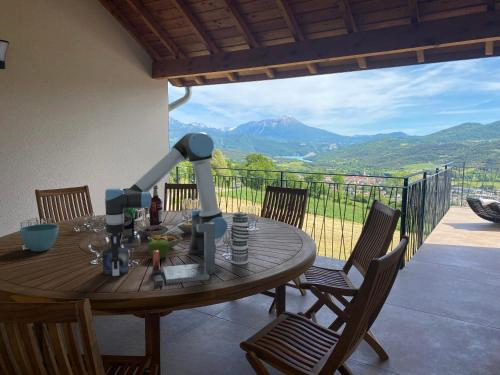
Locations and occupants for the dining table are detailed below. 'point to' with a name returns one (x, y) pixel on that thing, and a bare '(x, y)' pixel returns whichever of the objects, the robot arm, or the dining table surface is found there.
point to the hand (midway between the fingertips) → (116, 271)
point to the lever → (156, 262)
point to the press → (193, 270)
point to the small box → (122, 258)
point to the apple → (159, 247)
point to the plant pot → (39, 236)
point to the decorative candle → (239, 238)
